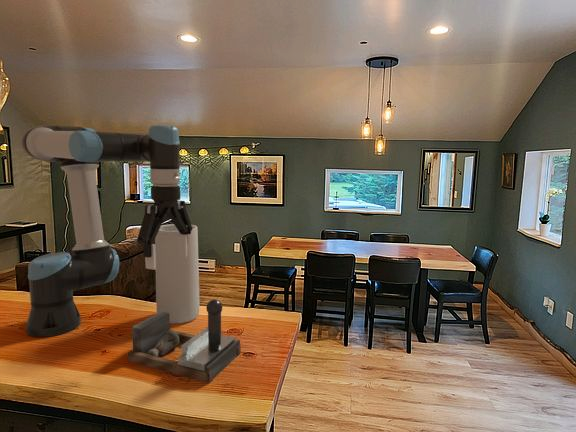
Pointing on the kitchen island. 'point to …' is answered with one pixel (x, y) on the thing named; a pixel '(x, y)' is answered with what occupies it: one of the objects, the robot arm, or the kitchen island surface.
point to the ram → (206, 341)
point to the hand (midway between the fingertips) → (167, 262)
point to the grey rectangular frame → (146, 339)
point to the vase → (177, 275)
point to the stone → (165, 344)
